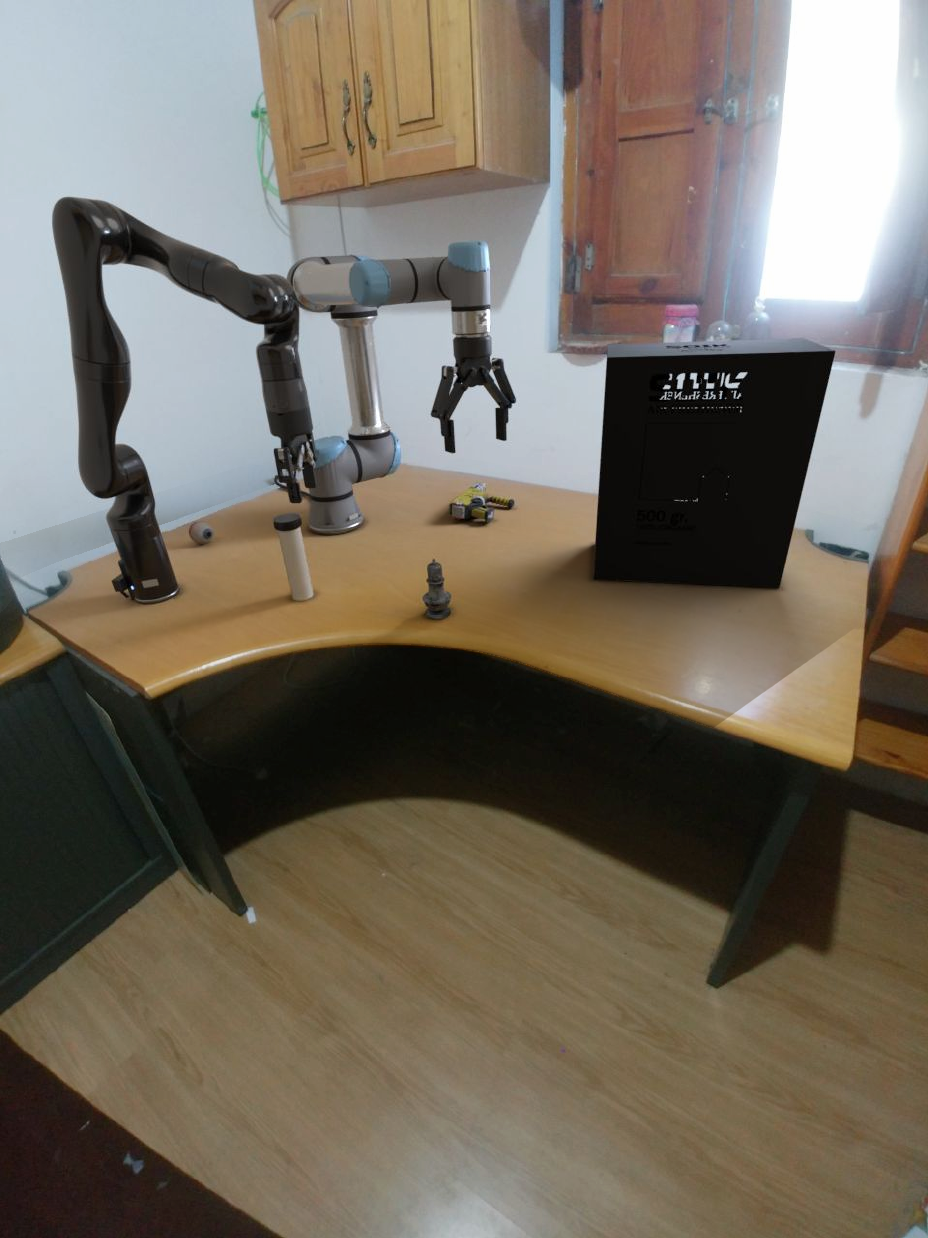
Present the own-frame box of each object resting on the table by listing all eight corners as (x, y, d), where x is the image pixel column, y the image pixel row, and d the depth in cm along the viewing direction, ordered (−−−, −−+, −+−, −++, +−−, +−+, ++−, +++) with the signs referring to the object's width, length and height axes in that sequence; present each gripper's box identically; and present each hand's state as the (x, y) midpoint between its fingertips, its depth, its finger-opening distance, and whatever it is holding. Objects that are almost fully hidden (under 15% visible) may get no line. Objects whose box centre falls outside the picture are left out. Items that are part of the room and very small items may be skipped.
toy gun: (522, 487, 180) (475, 480, 184) (500, 511, 160) (447, 502, 164) (521, 502, 182) (474, 495, 186) (499, 527, 162) (447, 519, 166)
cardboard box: (759, 548, 141) (803, 338, 119) (779, 587, 124) (835, 350, 102) (595, 543, 149) (607, 344, 126) (593, 579, 132) (607, 357, 109)
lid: (282, 520, 128) (281, 512, 127) (306, 521, 126) (305, 513, 125) (269, 530, 123) (267, 522, 122) (294, 531, 122) (292, 523, 121)
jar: (298, 590, 135) (282, 515, 126) (317, 591, 134) (302, 516, 125) (288, 600, 131) (271, 523, 122) (307, 601, 130) (291, 524, 121)
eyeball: (202, 548, 159) (196, 527, 156) (187, 544, 162) (181, 523, 159) (221, 540, 163) (215, 519, 160) (206, 537, 166) (200, 516, 163)
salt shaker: (449, 620, 120) (445, 565, 114) (420, 618, 121) (415, 564, 115) (455, 606, 125) (451, 552, 119) (427, 604, 126) (422, 551, 120)
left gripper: (281, 398, 112) (297, 483, 120) (250, 414, 100) (270, 508, 108) (320, 397, 111) (334, 483, 119) (293, 413, 99) (311, 507, 107)
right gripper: (429, 342, 108) (437, 460, 118) (533, 329, 120) (532, 437, 131) (407, 340, 113) (417, 454, 124) (508, 328, 125) (510, 432, 136)
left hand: (304, 494), depth 114 cm, fingers open, 8 cm apart
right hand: (476, 445), depth 127 cm, fingers open, 13 cm apart
